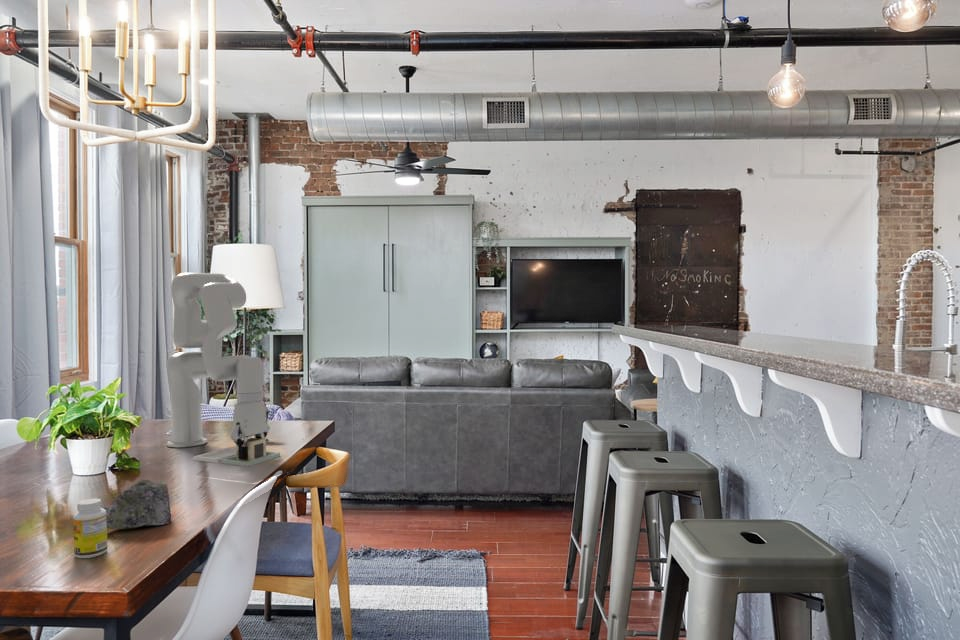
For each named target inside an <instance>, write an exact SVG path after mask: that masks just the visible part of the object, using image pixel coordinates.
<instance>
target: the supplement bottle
mask: <svg viewBox="0 0 960 640" xmlns="http://www.w3.org/2000/svg"><path fill="white" fill-rule="evenodd" d="M76 505H77V507H76V509H77V511H76V512H75V513H73V515H72V523H73V525H72V531H73V549H74V551H73V552H74V556H75V557H76V558H78V559H91V558H96V557H99V556H102V555H104V553H106V552H107V551H108V528H107V519H106V510H105V509H103V508H104V507H102V500H101V499H100V498H87V499H82V500H80V501H78V502H77V504H76Z"/></svg>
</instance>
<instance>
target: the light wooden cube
mask: <svg viewBox="0 0 960 640" xmlns="http://www.w3.org/2000/svg"><path fill="white" fill-rule="evenodd" d="M266 439H267V438H265V439H262V438H255V437H248V440H247V444H246V446H248V459H247V460H241V459H239V455H238V446H237V445H236V444H235V446H236V447H235V448H236V454H237V461H245V462H248V461H251V460H254V459H258V458H261V457H264V456H266V451H267V441H266ZM242 441H243V439H242Z"/></svg>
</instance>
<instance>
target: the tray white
mask: <svg viewBox="0 0 960 640" xmlns="http://www.w3.org/2000/svg"><path fill="white" fill-rule="evenodd" d="M236 455H237V454H236V447H229V446H228V447H224V448H220V449H217V450H213V451H209V452H206V453H202V454H197V455H195V456H194V455H193V461H197V462H207V463H214V464H220V463H222V461H221V460H222V459H226V458H229V457H233V456H236Z"/></svg>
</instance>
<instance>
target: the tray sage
mask: <svg viewBox="0 0 960 640" xmlns="http://www.w3.org/2000/svg"><path fill="white" fill-rule="evenodd" d="M279 457H281V452H278V451H277V452H276V451H267V450H266V456H264V457H261V458H258V459H254V460H251V461H248V462H245V461H237V455H236V456H233V457H229V458H226V459H222V460H221V461H222V462H221V464H223V465H231V466H240V467H241V466H242V467H250V466H252V465H257V464H260V463H262V462H266V461H269V460H273V459H276V458H279Z"/></svg>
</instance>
